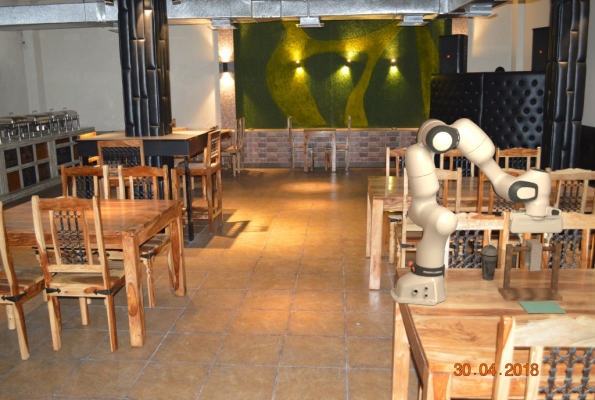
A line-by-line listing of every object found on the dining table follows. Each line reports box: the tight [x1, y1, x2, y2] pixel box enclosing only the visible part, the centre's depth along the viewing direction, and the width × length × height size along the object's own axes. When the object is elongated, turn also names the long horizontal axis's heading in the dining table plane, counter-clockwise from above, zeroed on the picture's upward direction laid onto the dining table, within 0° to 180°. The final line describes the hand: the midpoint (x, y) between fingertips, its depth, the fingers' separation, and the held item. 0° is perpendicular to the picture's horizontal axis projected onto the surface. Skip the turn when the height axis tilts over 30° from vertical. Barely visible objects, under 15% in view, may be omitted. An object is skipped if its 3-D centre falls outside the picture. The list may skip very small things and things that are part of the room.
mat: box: [518, 301, 567, 315], centre depth 206 cm, size 14×10×1 cm
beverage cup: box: [480, 234, 499, 281], centre depth 235 cm, size 7×7×20 cm
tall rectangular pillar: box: [523, 238, 544, 272], centre depth 215 cm, size 4×7×11 cm, turn 178°
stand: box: [497, 243, 563, 302], centre depth 216 cm, size 22×10×22 cm, turn 88°
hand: (533, 243), depth 214 cm, fingers open, 8 cm apart
